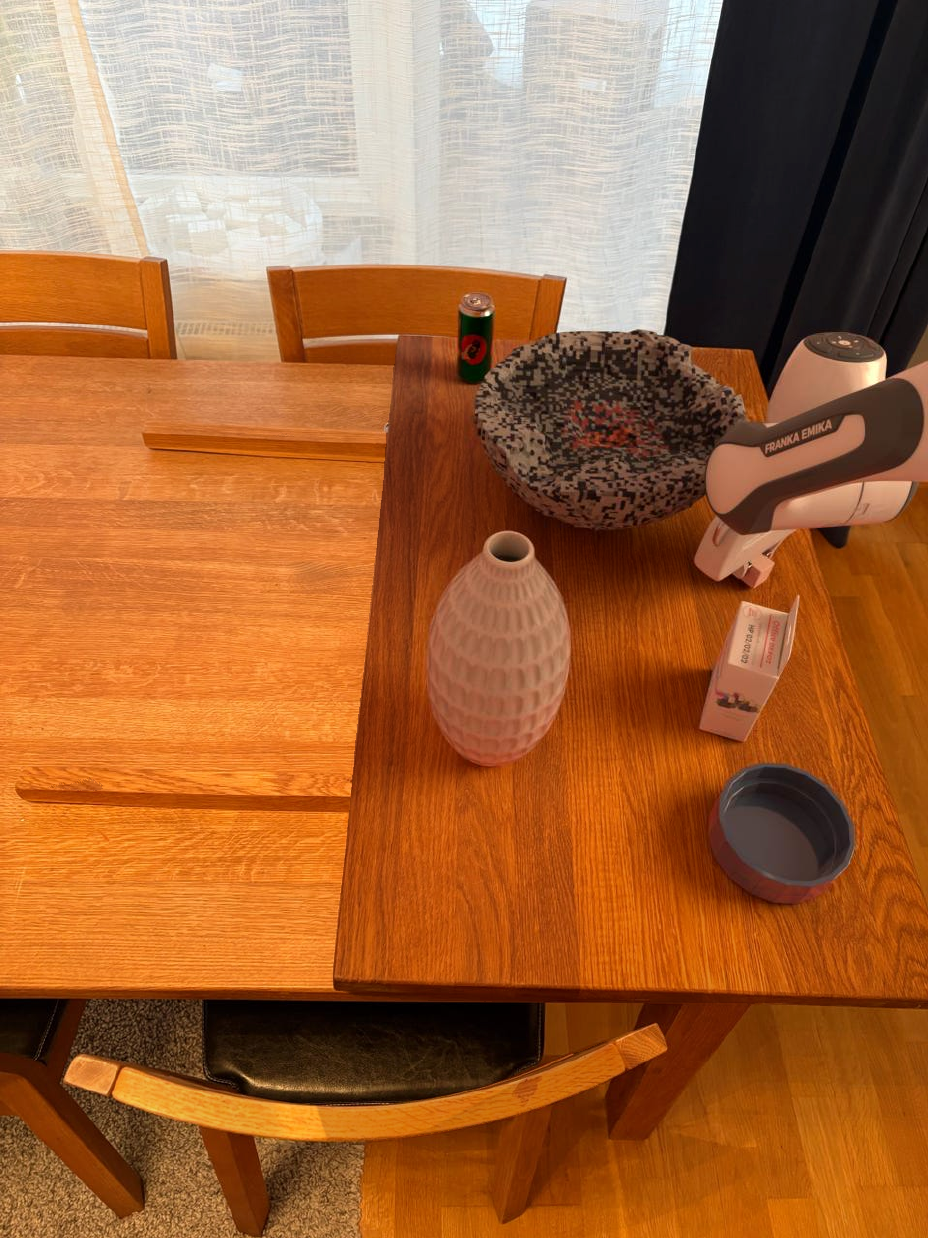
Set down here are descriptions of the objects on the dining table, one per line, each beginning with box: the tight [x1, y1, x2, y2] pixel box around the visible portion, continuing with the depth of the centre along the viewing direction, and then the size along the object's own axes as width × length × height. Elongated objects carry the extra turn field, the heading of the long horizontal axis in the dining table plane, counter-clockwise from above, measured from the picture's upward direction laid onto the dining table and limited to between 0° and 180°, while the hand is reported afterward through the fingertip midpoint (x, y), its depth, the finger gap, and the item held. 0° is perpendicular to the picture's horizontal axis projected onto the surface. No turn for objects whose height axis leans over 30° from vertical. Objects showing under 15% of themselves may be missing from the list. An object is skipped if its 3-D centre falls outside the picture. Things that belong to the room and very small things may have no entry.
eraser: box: [740, 553, 775, 589], centre depth 100 cm, size 5×3×3 cm, turn 38°
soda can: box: [456, 291, 496, 385], centre depth 121 cm, size 5×5×12 cm
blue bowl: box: [707, 762, 856, 905], centre depth 79 cm, size 12×12×4 cm
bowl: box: [473, 328, 748, 532], centre depth 105 cm, size 31×31×15 cm
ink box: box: [698, 594, 800, 743], centre depth 84 cm, size 8×5×15 cm, turn 160°
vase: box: [425, 530, 572, 768], centre depth 76 cm, size 13×13×28 cm
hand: (749, 565), depth 100 cm, fingers closed on eraser, 2 cm apart
